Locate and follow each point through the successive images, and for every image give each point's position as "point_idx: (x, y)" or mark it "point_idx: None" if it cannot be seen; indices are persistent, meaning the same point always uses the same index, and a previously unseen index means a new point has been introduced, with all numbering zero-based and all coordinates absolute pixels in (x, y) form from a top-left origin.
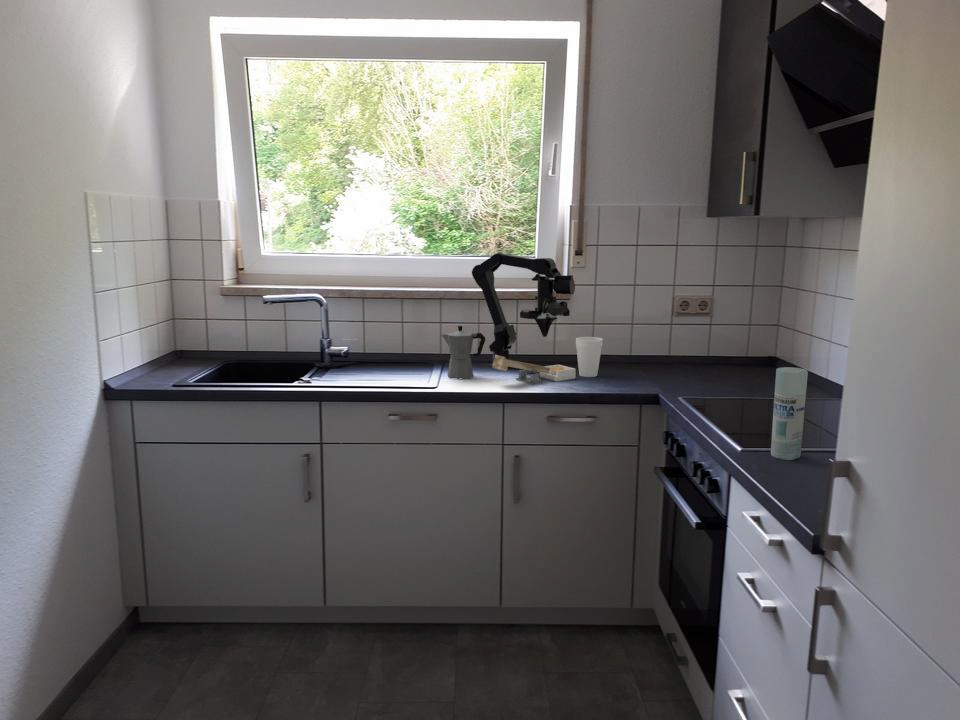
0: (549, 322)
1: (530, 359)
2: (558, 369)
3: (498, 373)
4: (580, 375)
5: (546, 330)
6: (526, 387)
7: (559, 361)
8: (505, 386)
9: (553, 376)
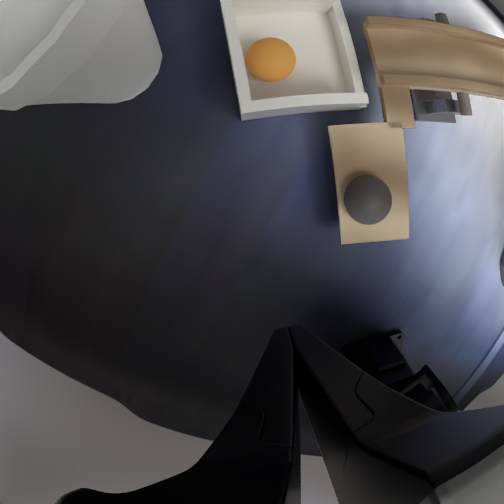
0: (274, 459)
1: (206, 425)
2: (288, 46)
3: (445, 255)
4: (161, 59)
5: (294, 367)
6: (451, 16)
7: (119, 370)
8: None
9: (342, 13)
